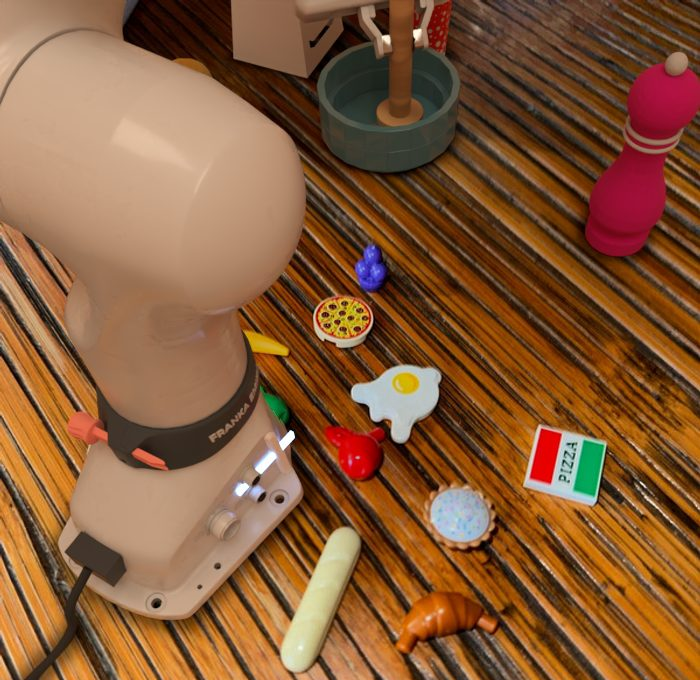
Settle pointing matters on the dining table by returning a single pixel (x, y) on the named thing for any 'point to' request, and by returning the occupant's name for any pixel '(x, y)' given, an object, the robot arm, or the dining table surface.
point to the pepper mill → (642, 158)
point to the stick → (400, 69)
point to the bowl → (364, 98)
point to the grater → (279, 36)
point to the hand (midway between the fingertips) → (402, 53)
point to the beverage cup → (437, 24)
